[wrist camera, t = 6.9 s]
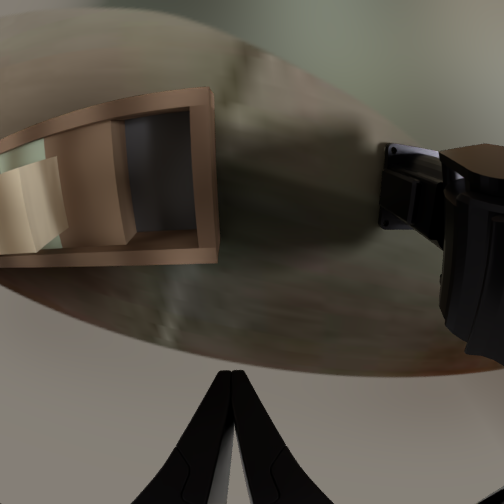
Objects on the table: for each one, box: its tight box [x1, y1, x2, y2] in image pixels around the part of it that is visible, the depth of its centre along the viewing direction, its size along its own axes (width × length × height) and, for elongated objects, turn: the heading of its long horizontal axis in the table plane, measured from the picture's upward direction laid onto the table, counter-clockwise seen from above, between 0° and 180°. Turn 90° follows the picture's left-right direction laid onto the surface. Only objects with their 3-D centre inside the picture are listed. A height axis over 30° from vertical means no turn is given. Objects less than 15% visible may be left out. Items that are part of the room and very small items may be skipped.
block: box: [0, 156, 69, 255], centre depth 13 cm, size 5×5×4 cm
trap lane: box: [0, 87, 220, 268], centre depth 15 cm, size 23×10×4 cm, turn 91°
